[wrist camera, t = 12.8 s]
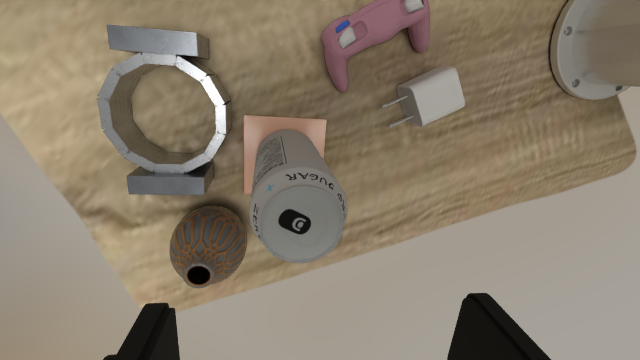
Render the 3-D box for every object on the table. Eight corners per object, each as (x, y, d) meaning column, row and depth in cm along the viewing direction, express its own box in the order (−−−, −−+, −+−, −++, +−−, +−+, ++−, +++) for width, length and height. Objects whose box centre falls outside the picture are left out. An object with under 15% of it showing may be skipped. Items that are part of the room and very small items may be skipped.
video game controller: (406, 13, 31) (425, -44, 24) (428, 52, 30) (455, 6, 23) (316, 59, 31) (310, 16, 24) (337, 98, 30) (337, 66, 23)
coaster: (325, 118, 31) (326, 119, 31) (320, 193, 34) (320, 194, 33) (244, 114, 30) (243, 115, 29) (244, 192, 32) (244, 193, 32)
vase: (227, 264, 35) (214, 322, 27) (169, 235, 33) (136, 290, 25) (261, 217, 34) (258, 263, 26) (203, 184, 32) (179, 223, 23)
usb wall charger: (444, 104, 33) (466, 108, 29) (384, 132, 33) (399, 139, 29) (433, 67, 31) (455, 66, 28) (371, 96, 31) (385, 99, 28)
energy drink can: (297, 194, 33) (319, 285, 19) (245, 168, 31) (228, 248, 17) (327, 146, 32) (374, 205, 18) (274, 116, 30) (281, 155, 16)
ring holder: (112, 31, 26) (78, 21, 22) (229, 41, 28) (221, 35, 23) (130, 175, 30) (105, 193, 26) (232, 177, 32) (226, 195, 27)
